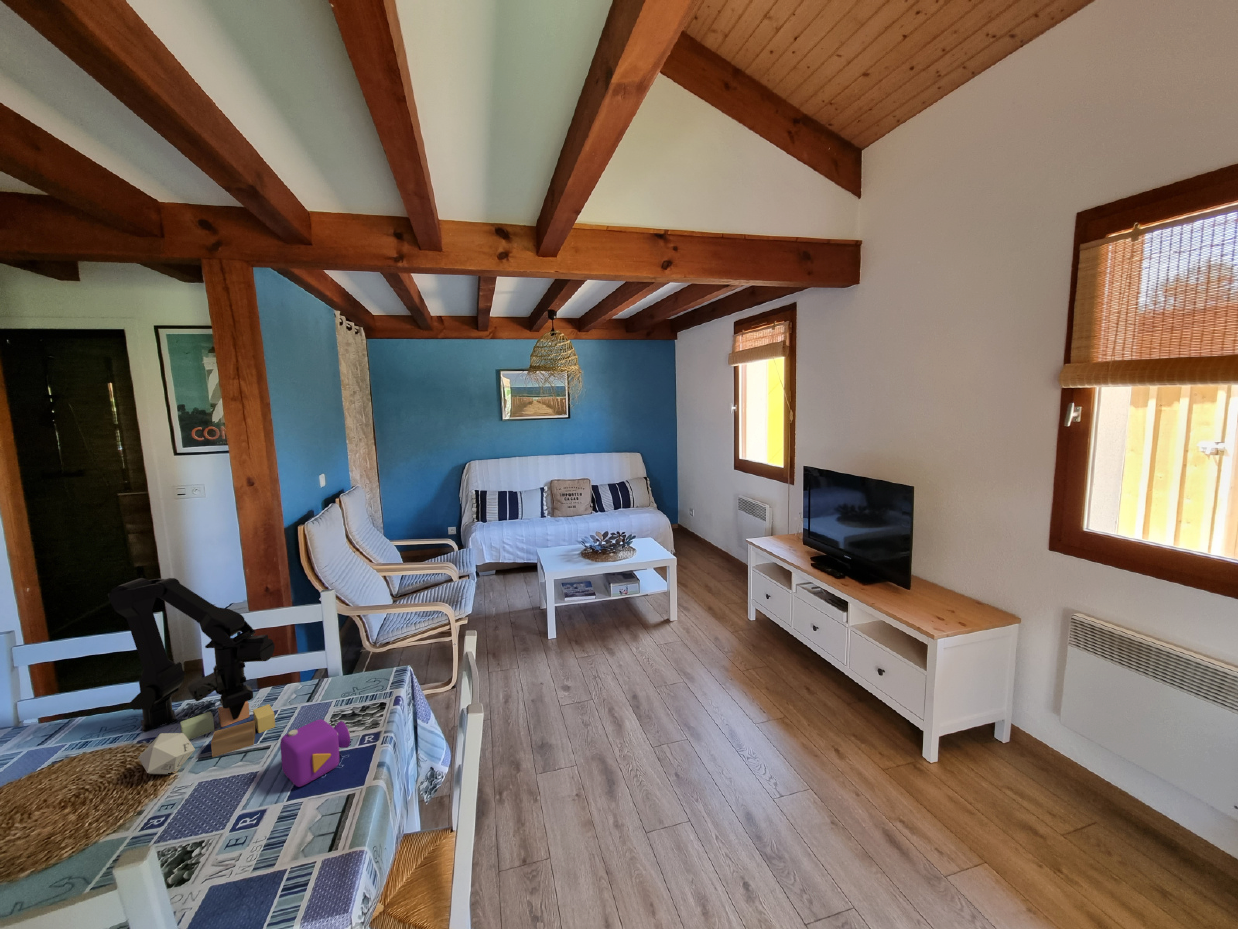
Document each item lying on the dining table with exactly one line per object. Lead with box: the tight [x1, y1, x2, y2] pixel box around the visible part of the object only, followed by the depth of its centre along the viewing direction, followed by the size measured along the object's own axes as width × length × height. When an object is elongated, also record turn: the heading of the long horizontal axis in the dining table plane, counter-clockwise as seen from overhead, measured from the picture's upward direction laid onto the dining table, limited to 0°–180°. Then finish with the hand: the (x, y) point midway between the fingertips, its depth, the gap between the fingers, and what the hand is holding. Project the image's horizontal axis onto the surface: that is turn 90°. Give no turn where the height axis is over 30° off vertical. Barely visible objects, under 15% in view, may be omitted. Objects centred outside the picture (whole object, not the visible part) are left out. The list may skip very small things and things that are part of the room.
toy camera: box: [279, 718, 351, 788], centre depth 112 cm, size 11×14×10 cm
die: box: [138, 732, 196, 775], centre depth 111 cm, size 8×9×10 cm
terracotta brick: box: [217, 701, 251, 728], centre depth 130 cm, size 4×6×4 cm, turn 138°
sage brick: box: [180, 710, 215, 741], centre depth 124 cm, size 4×6×4 cm, turn 139°
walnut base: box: [210, 720, 256, 758], centre depth 119 cm, size 5×8×4 cm, turn 123°
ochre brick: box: [252, 703, 276, 734], centre depth 127 cm, size 4×6×4 cm, turn 47°
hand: (234, 715), depth 130 cm, fingers closed on terracotta brick, 4 cm apart
